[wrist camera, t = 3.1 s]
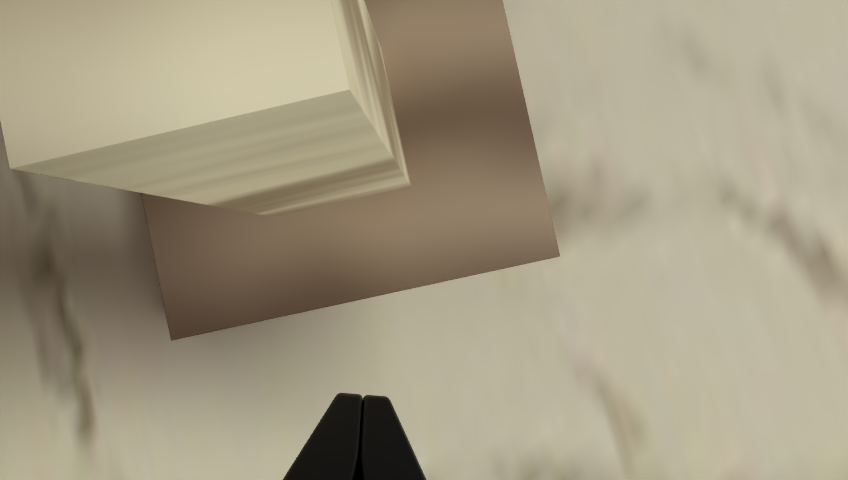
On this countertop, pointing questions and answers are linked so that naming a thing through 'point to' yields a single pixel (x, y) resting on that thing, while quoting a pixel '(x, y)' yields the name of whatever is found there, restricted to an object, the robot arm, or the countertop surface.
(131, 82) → the cream tall rectangular block
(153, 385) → the countertop surface
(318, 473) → the robot arm
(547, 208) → the board
